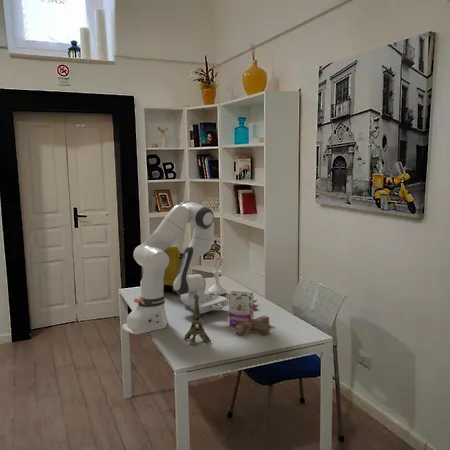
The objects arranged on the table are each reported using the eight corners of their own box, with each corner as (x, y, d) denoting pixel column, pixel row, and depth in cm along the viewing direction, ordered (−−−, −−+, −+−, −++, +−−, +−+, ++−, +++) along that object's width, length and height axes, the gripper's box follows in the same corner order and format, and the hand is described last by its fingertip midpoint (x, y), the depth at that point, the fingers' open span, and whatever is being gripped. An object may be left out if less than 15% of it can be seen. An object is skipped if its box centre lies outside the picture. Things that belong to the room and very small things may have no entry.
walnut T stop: (252, 340, 202) (252, 332, 201) (235, 334, 210) (235, 326, 209) (281, 329, 215) (281, 321, 215) (264, 323, 223) (264, 315, 223)
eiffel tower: (190, 347, 197) (188, 291, 193) (182, 338, 206) (180, 285, 203) (212, 342, 201) (211, 288, 197) (204, 334, 210) (202, 282, 207)
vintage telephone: (202, 292, 277) (201, 243, 273) (190, 298, 265) (189, 248, 261) (160, 286, 292) (158, 240, 287) (147, 292, 280) (145, 244, 275)
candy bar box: (254, 325, 221) (253, 292, 219) (250, 328, 216) (250, 295, 214) (232, 322, 225) (232, 290, 223) (229, 325, 221) (228, 293, 218)
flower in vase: (226, 296, 267) (225, 255, 264) (207, 296, 268) (206, 255, 264) (226, 290, 280) (226, 250, 277) (208, 290, 280) (207, 250, 277)
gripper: (187, 301, 234) (205, 307, 224) (217, 292, 247) (234, 298, 237) (188, 312, 235) (205, 319, 224) (217, 303, 248) (235, 309, 238)
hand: (220, 308), depth 231 cm, fingers closed
